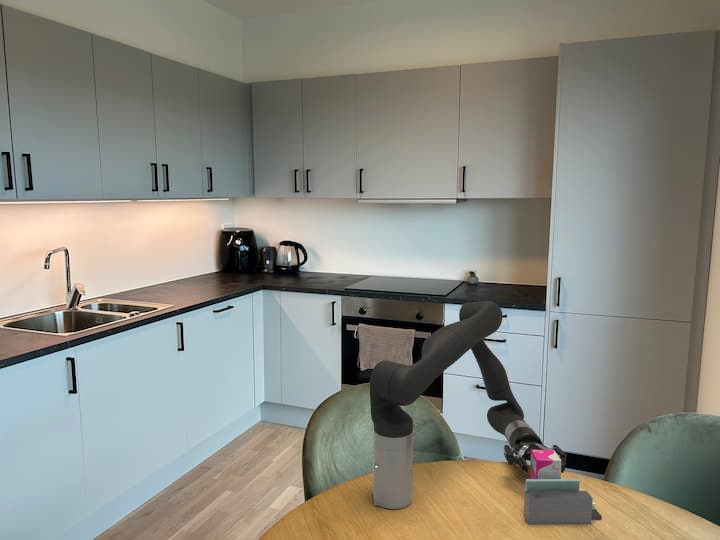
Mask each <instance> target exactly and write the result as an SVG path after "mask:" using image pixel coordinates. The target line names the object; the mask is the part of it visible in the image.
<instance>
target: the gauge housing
mask: <svg viewBox="0 0 720 540" xmlns="http://www.w3.org/2000/svg"><path fill="white" fill-rule="evenodd" d="M523 495H524V498H523V501H524V502H523V517H524V520H525V521H526V523H527V525H585V524H586V525H588V524H590V525H591V524H592V521H594V520H595V521H599V520H600V521H601V520H603V517H602V514H600V512H599V511H598V510H597V508H596V506H595V507H592V503H593V499H594V498H593V497H592V495H591V494H590V493H589V492H588V491H587V490H579V491H524V494H523Z"/></svg>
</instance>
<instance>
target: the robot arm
mask: <svg viewBox="0 0 720 540" xmlns="http://www.w3.org/2000/svg"><path fill="white" fill-rule="evenodd" d="M502 322H503V310H502V308H501V306H499V305H498V304H497V303H496V302H494V301H488V300H485V301H484V300H482V301H481V300H480V301H473V302H470V301H469V302H465V303H463V304H461V307H460V308H459V311H458V321H456V322H455V321H454V322H452V323H450V324H446V325H444V326H442V327H440V328H439V329H437V330H435V331H434V332H433V333H431V334H430V335H428V336H427V337H426V339H425V340H424V342H423V344H422V349H421V358H420V359H419V360H418V361H416V362H415V363H413V364H403V363H399V362H395V361H389V360H381V361H379V362H377V363H376V364H375V365H374V367H373V369H372V371H371V374H370V379H369V401H370V403H369V404H370V418H371V421H372V424H373V456H372V496H373V505H374V506H377V507H378V506H379V507H381V508H384V509H388V510H390V509H391V510H399V509H404V508H406V507H408V506H409V505H410V504H411V503H412V501H413V468H414V467H413V463H414V461H413V458H414V457H413V455H414V454H413V453H414V420H413V418H412V417H411V416H410V414H409V413H407V412H406V411H405V410H404V409H403V408H402V407H407V406H410V405H412V404H413V403H415V402H416V401H417V400H418V399H419V398H420V397H421V395H422V394H423V393H424V392H425V391H426V390H427V389H428V388H429V387H430V386H431V384H432V383H434V381H436V379H437V378H438V377H440V376H441V374H442V373H444V372H445V371H446V370H447V369H448V368H450V367H451V366H452V365H454V364H455V363H456V362H457V361H458V360H460V358H462V357H463V356H464V355H465V354H466V353H467V352H469V351H470V350H471V352H472V355H473V356H474V358H475V360H476V363H477V365H478V368H479V371H480V374H481V377H482V380H483V384H484V389H485V391H486V395H487V397H488V398H489V399H490V400H491V401H496V402H497V401H498V402H499V401H500V402H501V401H502V402H503V403H499V404H496V405H492V406H491V407H490V408H488V410H487V411H486V419H487V421H488V424H489V425H490V426H491V428H492V429H493V430H494V431H496V432H497V433H498V434H500V435H502V436H504V437H505V438H506V441H507V443H508V444H509V445H508V444H505V445H504V446H503V456H504V457H505V460H506V462H507V465H508V466H513V465H514V464H515V465H516V466H517V467H518V468H519V470H521V471H522V472H523V473H524V474H528V473H529V464H528V463H527V462H531V450H555V452H556V454H557V455H558V456H559V458H560V459H561V474H563V473H564V472H565V471H566V465H567V454H566V452H564V451H563V450H562V449H561V448H560V447H559V445H557V444H553V445H552V447H547V445H545V444H544V443H543V441H542V439H541V438H540V437H539V436H538V434H537V433H536V431H535V430H534V429H533V428H532V427H531V426H530V425H529V424H528V423H527V422H526V420H525V413H524V411H523V409H522V407H521V406H520V405H521V404H519V403H518V401H517V398H516V397H515V396H514V395H515V394H514V393H513V390H512V388H511V386H510V382H509V378H508V374H507V371H506V369H505V367H504V365H503V364H502V362H501V361H500V359H499V358H498V357H497V356H496V355H495V354H494V353H493V352H492V350H491V348H489V347H488V345H487V344H486V342H485V340H484V339H486V338H488V337H490V336H491V335H492V334H494V333H496V332H497V331H498V330H499V329H500V327H501V325H502ZM504 401H505V402H504Z"/></svg>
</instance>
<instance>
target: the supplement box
mask: <svg viewBox="0 0 720 540" xmlns="http://www.w3.org/2000/svg"><path fill="white" fill-rule="evenodd" d="M529 469H530V472H529V474H530V475H529V479H562V473H561V459H560V458H559V456H558V455H557V454H556V452H555V450H531V461H530V467H529Z"/></svg>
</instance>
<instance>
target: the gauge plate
mask: <svg viewBox="0 0 720 540" xmlns="http://www.w3.org/2000/svg"><path fill="white" fill-rule="evenodd" d="M580 483H581V481H580V480H579V478H561V479H530V478H525V485H524V486H525V487H524V488H525V489H524V490H525V491H580ZM525 491H524V492H525ZM592 507H595V508H596V503H595V502H592Z"/></svg>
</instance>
